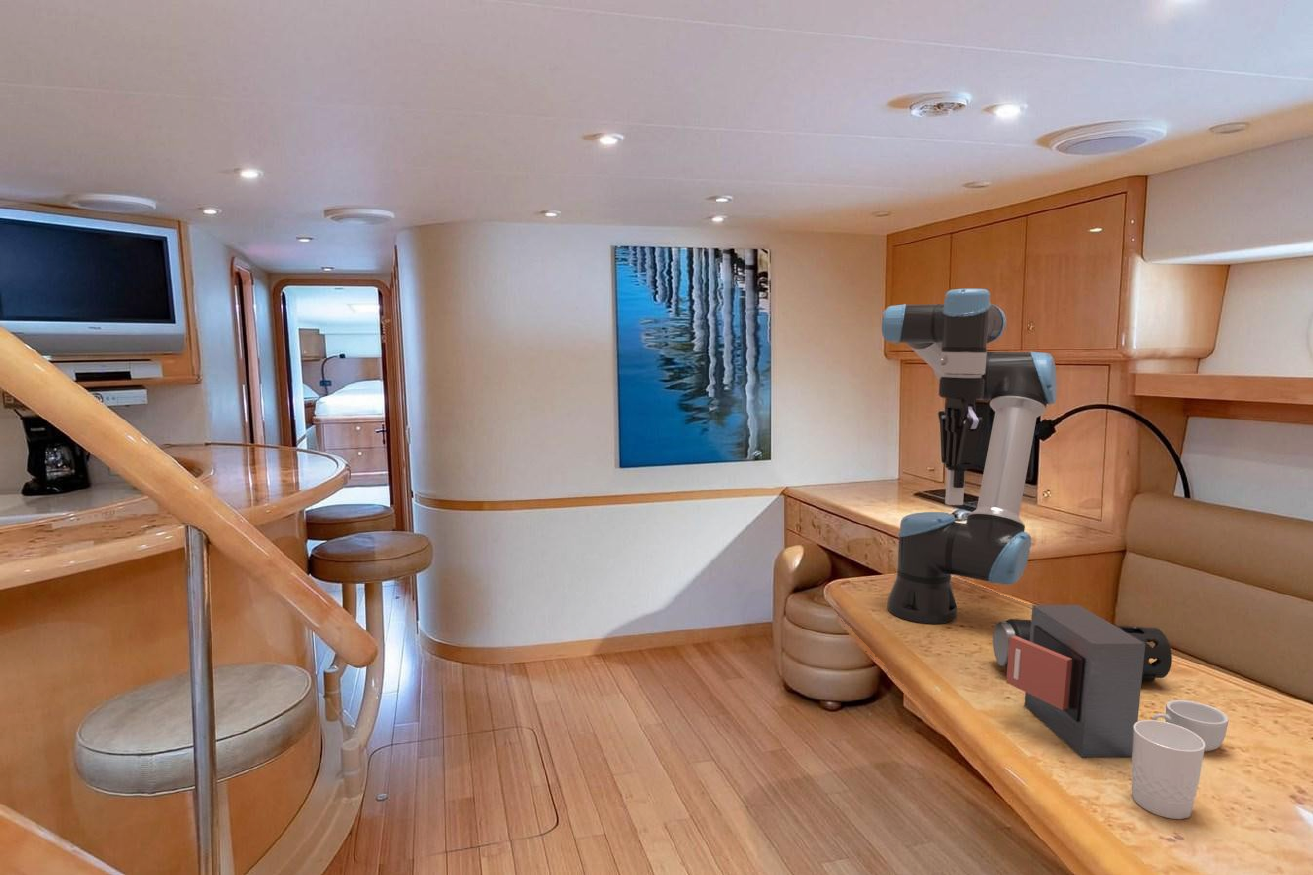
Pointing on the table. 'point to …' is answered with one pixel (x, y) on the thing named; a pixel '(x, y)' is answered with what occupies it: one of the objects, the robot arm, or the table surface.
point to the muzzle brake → (1141, 633)
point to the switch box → (1091, 680)
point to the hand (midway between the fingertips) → (954, 503)
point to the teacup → (1198, 720)
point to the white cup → (1165, 768)
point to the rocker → (1039, 672)
